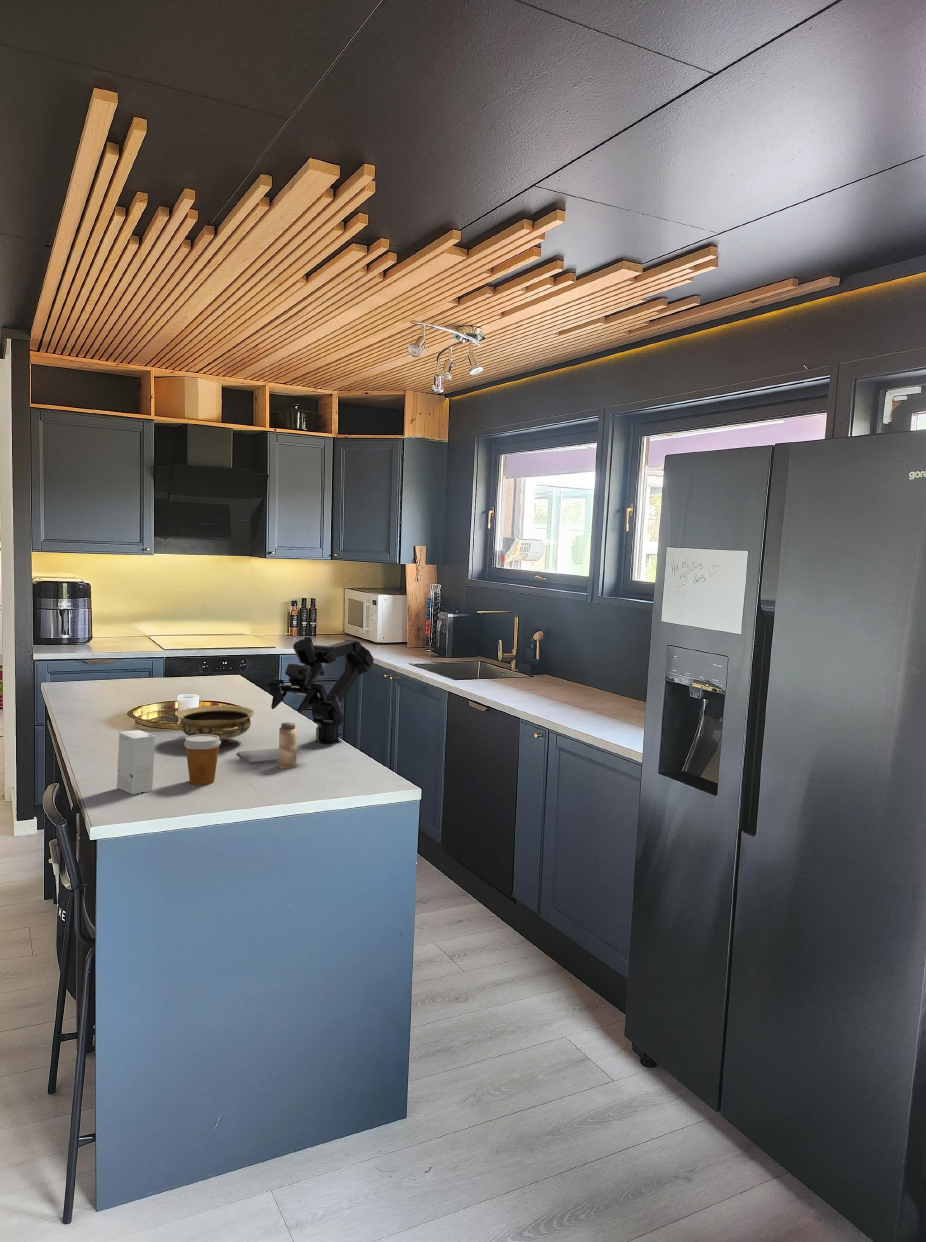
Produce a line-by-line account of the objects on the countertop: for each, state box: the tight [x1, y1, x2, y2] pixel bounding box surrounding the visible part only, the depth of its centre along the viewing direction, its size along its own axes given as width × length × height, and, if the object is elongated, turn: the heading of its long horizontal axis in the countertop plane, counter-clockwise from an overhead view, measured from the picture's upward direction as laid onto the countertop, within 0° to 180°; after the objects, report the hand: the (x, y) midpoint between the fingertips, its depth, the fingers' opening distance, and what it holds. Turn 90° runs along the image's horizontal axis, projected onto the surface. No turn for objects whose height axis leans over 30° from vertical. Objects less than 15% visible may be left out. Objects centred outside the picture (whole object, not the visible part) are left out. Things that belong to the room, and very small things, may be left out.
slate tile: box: [236, 747, 279, 765], centre depth 254 cm, size 13×13×1 cm
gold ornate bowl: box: [176, 705, 255, 746], centre depth 269 cm, size 30×24×10 cm
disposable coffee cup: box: [183, 734, 221, 786], centre depth 225 cm, size 10×10×12 cm
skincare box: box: [116, 729, 156, 795], centre depth 215 cm, size 8×6×15 cm
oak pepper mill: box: [278, 722, 298, 769], centre depth 244 cm, size 5×5×12 cm
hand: (285, 709), depth 252 cm, fingers open, 9 cm apart
